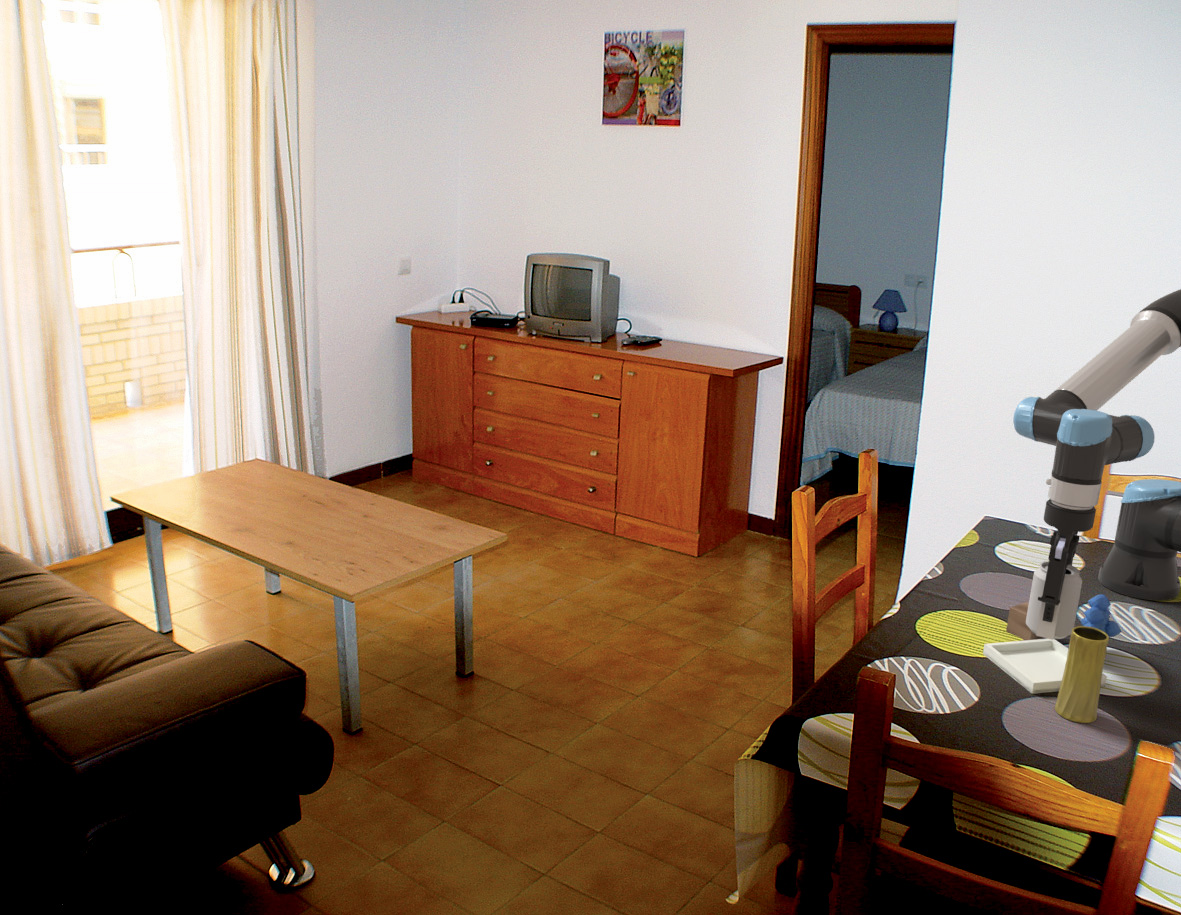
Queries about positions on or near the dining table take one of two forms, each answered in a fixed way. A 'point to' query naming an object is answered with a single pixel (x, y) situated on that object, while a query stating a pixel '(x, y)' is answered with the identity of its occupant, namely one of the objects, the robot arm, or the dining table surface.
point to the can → (1067, 600)
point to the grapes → (1100, 616)
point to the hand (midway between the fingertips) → (1049, 627)
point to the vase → (1082, 675)
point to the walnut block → (1020, 622)
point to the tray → (1032, 663)
